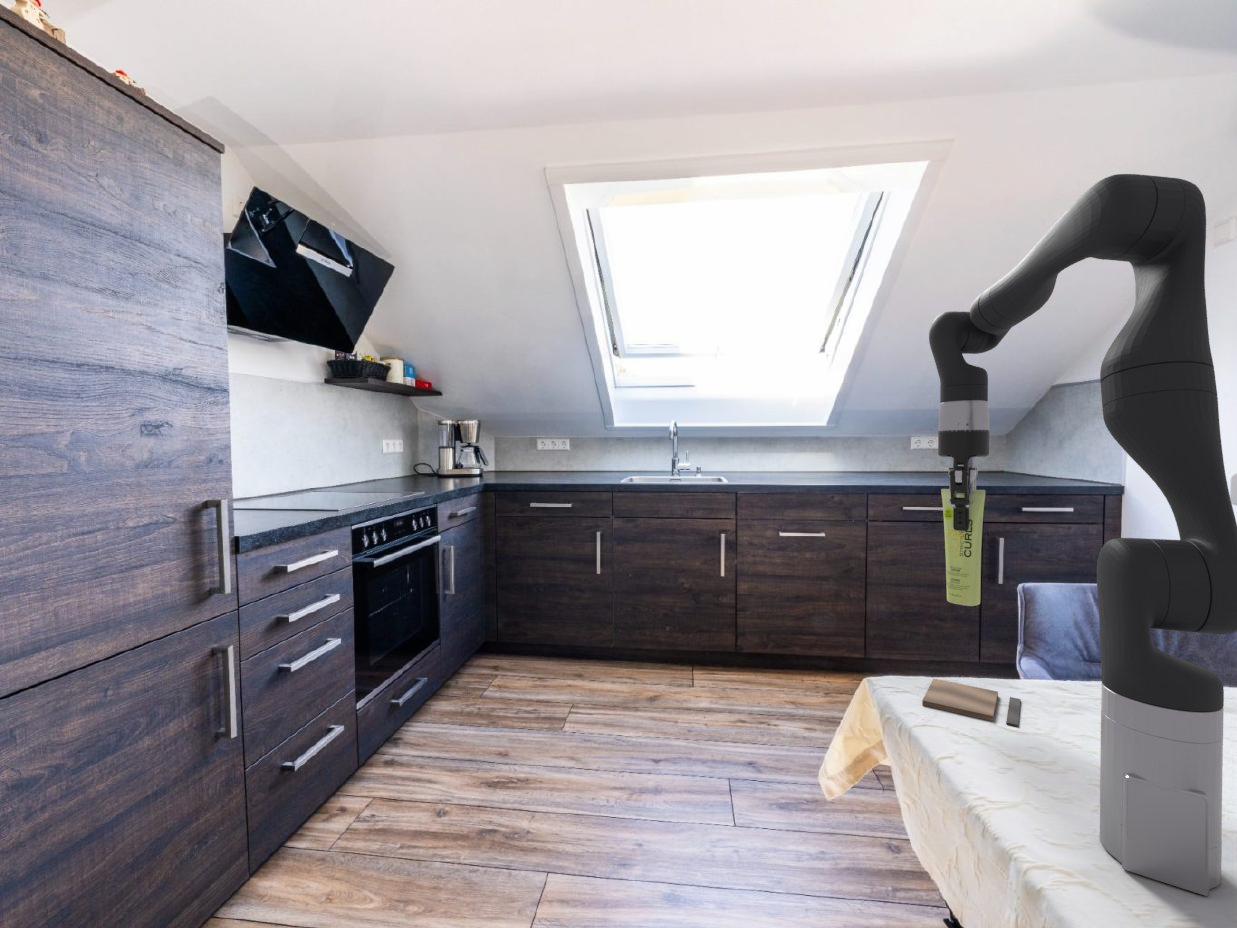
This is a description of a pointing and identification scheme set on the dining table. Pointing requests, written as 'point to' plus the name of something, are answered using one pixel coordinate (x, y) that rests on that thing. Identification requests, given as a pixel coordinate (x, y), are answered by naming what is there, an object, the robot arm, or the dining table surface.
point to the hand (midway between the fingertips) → (962, 528)
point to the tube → (963, 551)
